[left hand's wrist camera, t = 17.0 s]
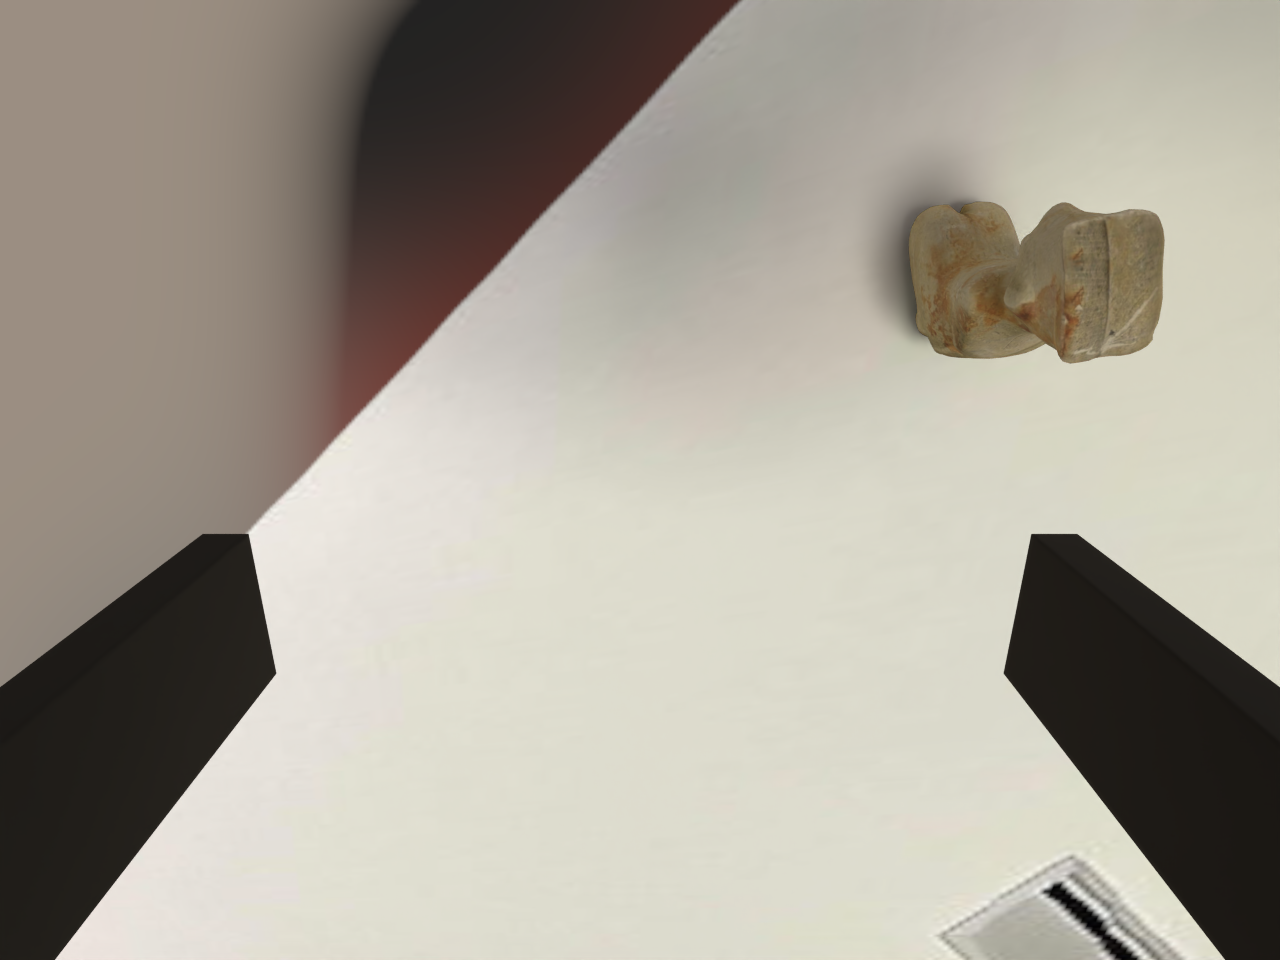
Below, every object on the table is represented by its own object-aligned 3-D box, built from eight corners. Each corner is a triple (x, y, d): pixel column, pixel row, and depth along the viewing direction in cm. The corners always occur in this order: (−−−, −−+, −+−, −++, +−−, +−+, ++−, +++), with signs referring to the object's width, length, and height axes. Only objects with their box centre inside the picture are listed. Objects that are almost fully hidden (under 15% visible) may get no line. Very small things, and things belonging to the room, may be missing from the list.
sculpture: (1008, 197, 38) (1224, 193, 24) (996, 339, 41) (1185, 411, 26) (892, 207, 38) (1040, 209, 24) (888, 347, 41) (1019, 423, 27)
